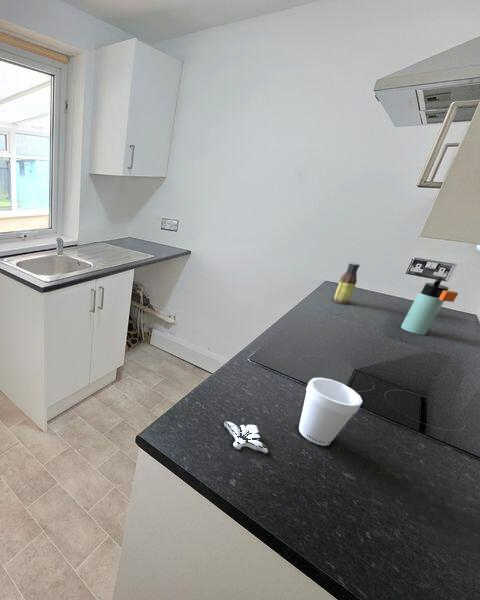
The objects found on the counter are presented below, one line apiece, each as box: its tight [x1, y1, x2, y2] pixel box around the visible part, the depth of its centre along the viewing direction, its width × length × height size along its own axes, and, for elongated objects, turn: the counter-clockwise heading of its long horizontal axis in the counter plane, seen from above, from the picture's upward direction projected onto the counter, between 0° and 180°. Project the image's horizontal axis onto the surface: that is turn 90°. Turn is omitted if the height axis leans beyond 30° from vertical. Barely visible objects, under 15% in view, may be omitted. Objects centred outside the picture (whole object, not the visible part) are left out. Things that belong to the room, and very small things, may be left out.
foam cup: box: [298, 377, 363, 446], centre depth 71 cm, size 10×9×13 cm
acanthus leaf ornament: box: [223, 421, 269, 454], centre depth 71 cm, size 8×7×2 cm
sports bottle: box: [400, 276, 450, 336], centre depth 126 cm, size 8×8×23 cm
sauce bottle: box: [333, 262, 361, 305], centre depth 153 cm, size 7×6×20 cm
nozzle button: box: [439, 290, 459, 303], centre depth 117 cm, size 2×4×4 cm, turn 77°
